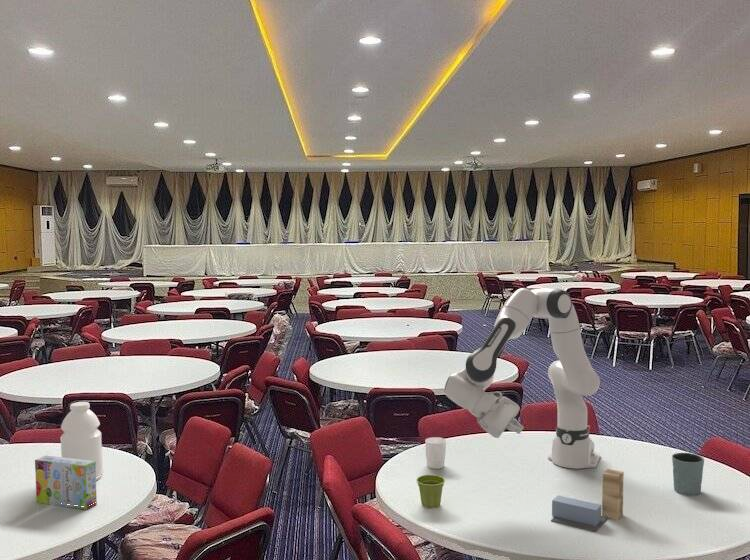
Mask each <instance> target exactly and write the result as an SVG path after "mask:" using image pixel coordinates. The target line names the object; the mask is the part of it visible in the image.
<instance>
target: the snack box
mask: <svg viewBox="0 0 750 560" xmlns="http://www.w3.org/2000/svg"><path fill="white" fill-rule="evenodd" d="M34 465H35V468H34V469H35V495H36V498H35V499H36V503H37V504H38V503H39V504H46V505H52V506H59V507H65V508H73V509H79V510H88V509H90V508H93V507H96V506H97V505H98V504H97V480H96V462H95V461H89V460H81V459H72V458H64V457H62V456H54V455H47V454H46V455H44V456H42V457H39V458H37V459H36V458H35V460H34ZM95 502H96V503H95ZM61 503H62V504H61ZM93 503H94V504H93ZM67 504H70V505H67ZM91 504H92V505H91ZM74 505H78V506H74ZM89 505H90V506H89ZM81 506H84V507H81Z"/></svg>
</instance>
